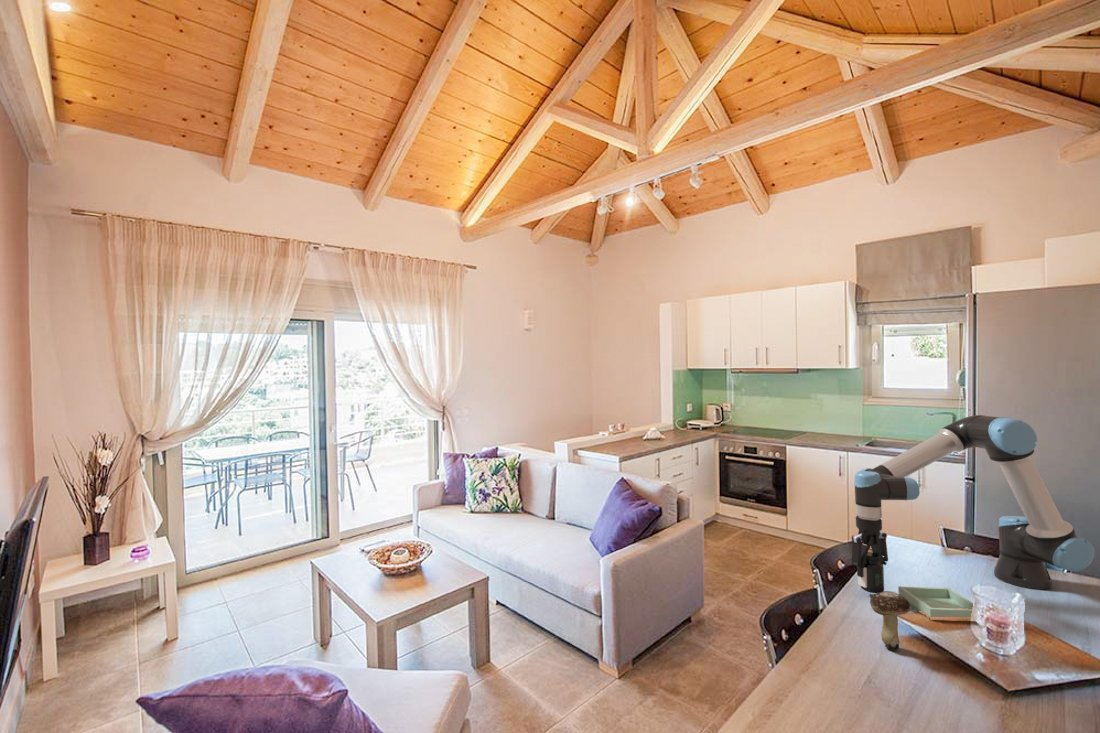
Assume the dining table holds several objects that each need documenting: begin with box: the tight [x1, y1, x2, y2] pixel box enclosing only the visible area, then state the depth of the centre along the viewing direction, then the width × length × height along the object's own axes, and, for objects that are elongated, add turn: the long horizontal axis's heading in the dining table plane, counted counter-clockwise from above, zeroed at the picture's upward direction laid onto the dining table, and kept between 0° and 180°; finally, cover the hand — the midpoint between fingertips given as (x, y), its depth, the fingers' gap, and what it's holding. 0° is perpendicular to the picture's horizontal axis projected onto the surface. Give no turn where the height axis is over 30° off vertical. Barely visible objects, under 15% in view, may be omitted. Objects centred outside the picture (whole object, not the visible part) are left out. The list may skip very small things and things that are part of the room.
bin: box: [897, 585, 974, 617], centre depth 155 cm, size 16×16×4 cm
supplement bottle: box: [860, 551, 885, 594], centre depth 164 cm, size 7×7×12 cm
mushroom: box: [869, 590, 911, 652], centre depth 133 cm, size 9×9×15 cm
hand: (870, 584), depth 165 cm, fingers closed on supplement bottle, 7 cm apart
